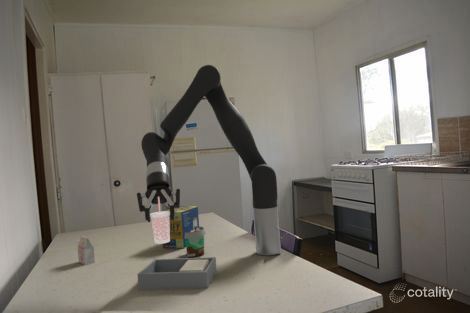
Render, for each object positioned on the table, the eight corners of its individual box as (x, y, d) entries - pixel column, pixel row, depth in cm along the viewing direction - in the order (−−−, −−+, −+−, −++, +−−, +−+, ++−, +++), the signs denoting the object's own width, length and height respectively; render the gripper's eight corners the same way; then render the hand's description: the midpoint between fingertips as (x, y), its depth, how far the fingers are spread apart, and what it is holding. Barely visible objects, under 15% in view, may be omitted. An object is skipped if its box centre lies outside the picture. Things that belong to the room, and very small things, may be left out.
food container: (202, 259, 128) (199, 232, 128) (186, 259, 129) (184, 233, 129) (210, 249, 140) (209, 225, 140) (196, 250, 142) (194, 225, 141)
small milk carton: (88, 259, 140) (86, 234, 139) (94, 262, 135) (92, 237, 135) (78, 262, 137) (76, 236, 137) (85, 265, 132) (83, 239, 132)
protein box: (162, 247, 149) (159, 212, 149) (181, 238, 163) (178, 205, 163) (183, 248, 145) (180, 211, 145) (200, 239, 160) (198, 205, 159)
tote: (216, 274, 111) (215, 257, 111) (208, 291, 98) (206, 272, 98) (155, 275, 114) (154, 259, 114) (138, 292, 101) (137, 274, 101)
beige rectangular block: (210, 273, 110) (209, 259, 110) (203, 285, 100) (201, 270, 100) (188, 273, 111) (187, 259, 111) (179, 286, 101) (178, 270, 101)
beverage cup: (162, 245, 103) (158, 198, 103) (148, 243, 106) (144, 198, 106) (176, 239, 108) (172, 195, 108) (162, 238, 111) (158, 195, 111)
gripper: (134, 172, 113) (134, 214, 101) (179, 168, 116) (184, 209, 104) (137, 187, 118) (137, 229, 107) (179, 183, 121) (184, 223, 109)
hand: (160, 219), depth 105 cm, fingers closed on beverage cup, 6 cm apart
